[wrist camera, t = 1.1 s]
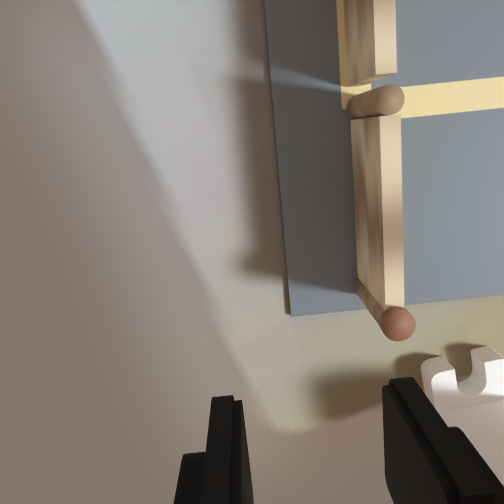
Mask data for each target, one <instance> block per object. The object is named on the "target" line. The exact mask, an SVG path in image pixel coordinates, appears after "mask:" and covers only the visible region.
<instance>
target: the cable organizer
mask: <svg viewBox="0 0 504 504" xmlns="http://www.w3.org/2000/svg"><path fill="white" fill-rule="evenodd" d="M470 350H471V358H472V365H473V369H472V373H471V374H470V376H469V377H467V378H466V379H464V380H462V381H456V374H455V369H454V368H453V367H452V366H451V365H450V363H449V362H448V361H447V360H446V359H445V358H444V357H443V356H439V357H434V358H430V359H427V360H425V361H424V362H423V363H422V364H421V375H422V381H423V387H424V393H425V395H426V396H427V398H428V399H429V400H430V402H431V403H432V405H433V406H434V407H435V409H436V410H437V412H438V413H439V414H440V416H441V417H442V419H443V420H444V422H445V423H446V424H447V426H448V427H454V426H456V427H459V428H460V429H461V430H462V431H463V432H464V434H465V435H466V436H467V438H468V439H469V440H470V442H471V443H472V444H473V446H474V447H475V448H476V450H477V451H478V452H479V454H480V455H481V456H482V458H483V459H484V460H485V462H486V463H487V464H488V466H489V467H490V468H491V470H492V471H493V472H494V474H495V475H496V476H497V478H498V479H499V480H500V482H501V483H502V484H503V486H504V357H502V356H501V355H500V354H499V353H498V352H496V351H495V350H494V349H493V348H492V347H490V346H483V347H479V348H474V349H470Z"/></svg>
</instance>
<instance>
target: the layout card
mask: <svg viewBox="0 0 504 504" xmlns="http://www.w3.org/2000/svg"><path fill="white" fill-rule="evenodd" d="M395 3H396V49H397V73H394V74H392V75H390V76H387V77H385V78H382V79H380V80H377V81H375V82H372V83H370V84H367V85H365V86H356V87H347V65H346V44H345V22H344V1H343V0H264V8H265V20H266V32H267V43H268V55H269V67H270V79H271V90H272V102H273V114H274V125H275V137H276V149H277V160H278V172H279V184H280V196H281V207H282V219H283V231H284V242H285V254H286V266H287V277H288V289H289V301H290V313H291V317H293V316H303V315H313V314H322V313H332V312H342V311H352V310H361V309H367V308H366V306H365V305H364V304H363V302H362V301H361V299H360V298H359V297H358V295H357V294H356V293H355V291H354V282H355V280H356V279H357V278H358V273H357V251H356V229H355V207H354V186H353V164H352V142H351V121H350V120H356V119H353V118H351V117H350V116H349V114H348V112H347V103H348V101H349V99H350V98H351V97H353V96H355V95H358V94H361V93H363V92H366V91H369V90H372V89H375V88H378V87H381V86H384V85H387V84H395V85H397V86H399V87H400V88H401V89H402V90H403V93H404V96H405V100H404V104H403V107H402V108H401V110H400V111H399V112H397V113H396V114H393V115H397V114H401V154H402V204H403V254H404V304H405V305H410V304H420V303H430V302H439V301H449V300H459V299H469V298H478V297H488V296H498V295H504V0H395Z"/></svg>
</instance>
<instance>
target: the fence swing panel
mask: <svg viewBox="0 0 504 504" xmlns="http://www.w3.org/2000/svg"><path fill="white" fill-rule="evenodd" d="M404 100H405V96H404V93H403V90H402V89H401V88H400V87H399V86H397V85H395V84H387V85H384V86H381V87H378V88H375V89H372V90H369V91H366V92H363V93H361V94H358V95H355V96H353V97H351V98H350V99H349V101H348V103H347V112H348V114H349V116H350V117H351V118H353V119H356V120H350V121H351V142H352V164H353V186H354V207H355V229H356V251H357V273H358V278H357V279H356V280H355V282H354V291H355V293H356V294H357V295H358V297H359V298H360V299H361V301H362V302H363V304H364V305H365V306H366V308H367V309H368V310H369V312H370V313H371V315H372V316H373V317H374V319H375V320H376V321H377V323H378V324H379V326H380V328H381V330H382V331H383V333H384V334H385V336H386V337H387V338H389V339H390V340H393V341H403V340H406V339H407V338H409V337H410V336H411V335H412V334H413V332H414V330H415V326H416V323H415V319H414V317H413V316H412V315H411V314H410V313H409V312H408V311H407V310H406V309H405V304H404V254H403V204H402V154H401V114H397V115H393V114H396V113H397V112H399V111H400V110H401V108H402V107H403V104H404Z"/></svg>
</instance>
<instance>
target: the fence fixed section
mask: <svg viewBox="0 0 504 504" xmlns="http://www.w3.org/2000/svg"><path fill="white" fill-rule="evenodd" d="M343 1H344V22H345V44H346V65H347V87H356V86H365V85H367V84H370V83H372V82H375V81H377V80H380V79H382V78H385V77H387V76H390V75H392V74H394V73H397V49H396V3H395V0H343Z"/></svg>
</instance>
